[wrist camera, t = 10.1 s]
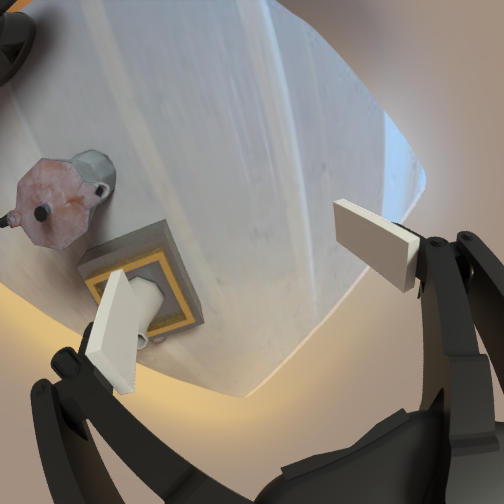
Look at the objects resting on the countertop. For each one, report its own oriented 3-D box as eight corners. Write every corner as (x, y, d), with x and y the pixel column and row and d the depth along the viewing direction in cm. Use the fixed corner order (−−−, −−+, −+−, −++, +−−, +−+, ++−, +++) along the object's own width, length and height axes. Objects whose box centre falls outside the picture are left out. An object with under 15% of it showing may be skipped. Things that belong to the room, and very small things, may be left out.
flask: (110, 298, 37) (98, 341, 29) (136, 267, 37) (127, 307, 28) (145, 323, 41) (142, 368, 32) (173, 296, 40) (175, 339, 31)
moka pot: (141, 195, 39) (114, 244, 21) (58, 222, 36) (-2, 282, 18) (127, 135, 34) (84, 136, 17) (43, 167, 32) (-33, 198, 14)
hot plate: (86, 250, 39) (73, 271, 33) (165, 218, 41) (163, 235, 35) (135, 335, 48) (132, 362, 42) (204, 312, 50) (210, 338, 44)
